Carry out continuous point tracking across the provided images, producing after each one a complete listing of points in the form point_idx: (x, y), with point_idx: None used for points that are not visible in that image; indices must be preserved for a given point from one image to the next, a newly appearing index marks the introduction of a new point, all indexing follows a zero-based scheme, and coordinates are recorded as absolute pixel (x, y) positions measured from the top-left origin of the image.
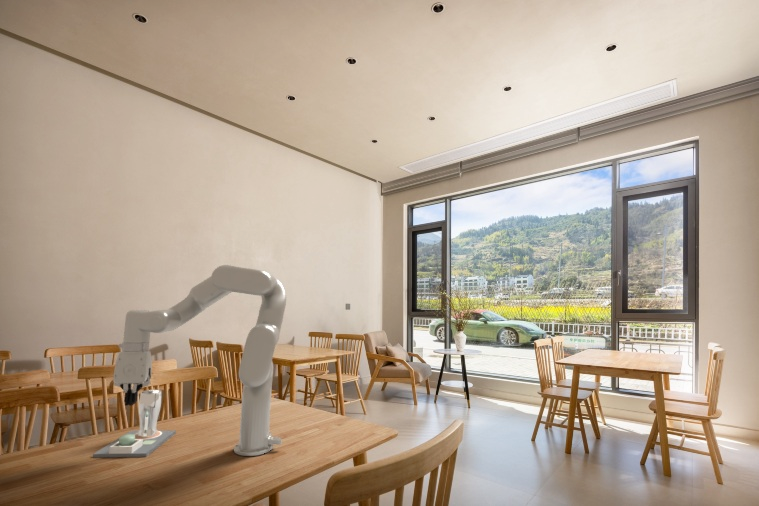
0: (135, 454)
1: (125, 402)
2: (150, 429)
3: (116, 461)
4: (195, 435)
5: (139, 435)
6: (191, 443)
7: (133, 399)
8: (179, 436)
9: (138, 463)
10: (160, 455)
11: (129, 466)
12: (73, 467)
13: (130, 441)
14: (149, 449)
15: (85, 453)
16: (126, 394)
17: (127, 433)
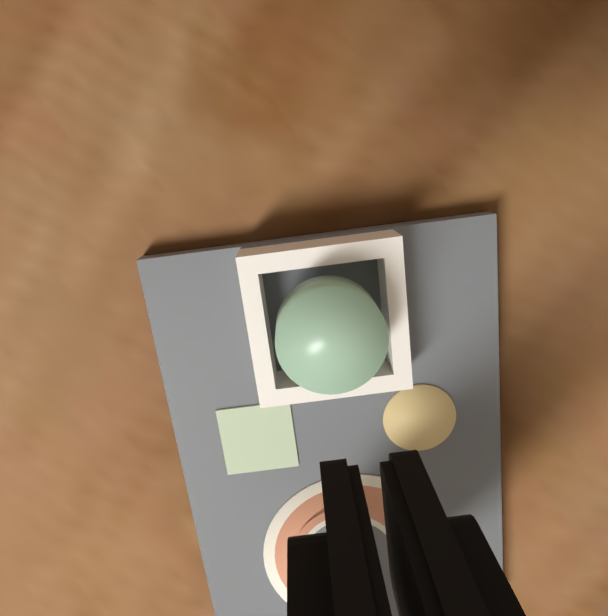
0: (212, 250)
1: (421, 475)
2: None
3: (286, 162)
4: (78, 610)
5: (374, 516)
6: (9, 493)
7: (314, 563)
8: (166, 585)
9: (115, 143)
10: (66, 289)
11: (139, 86)
12: (506, 32)
13: (281, 306)
14: (166, 328)
15: (576, 270)
16: (467, 597)
17: None
